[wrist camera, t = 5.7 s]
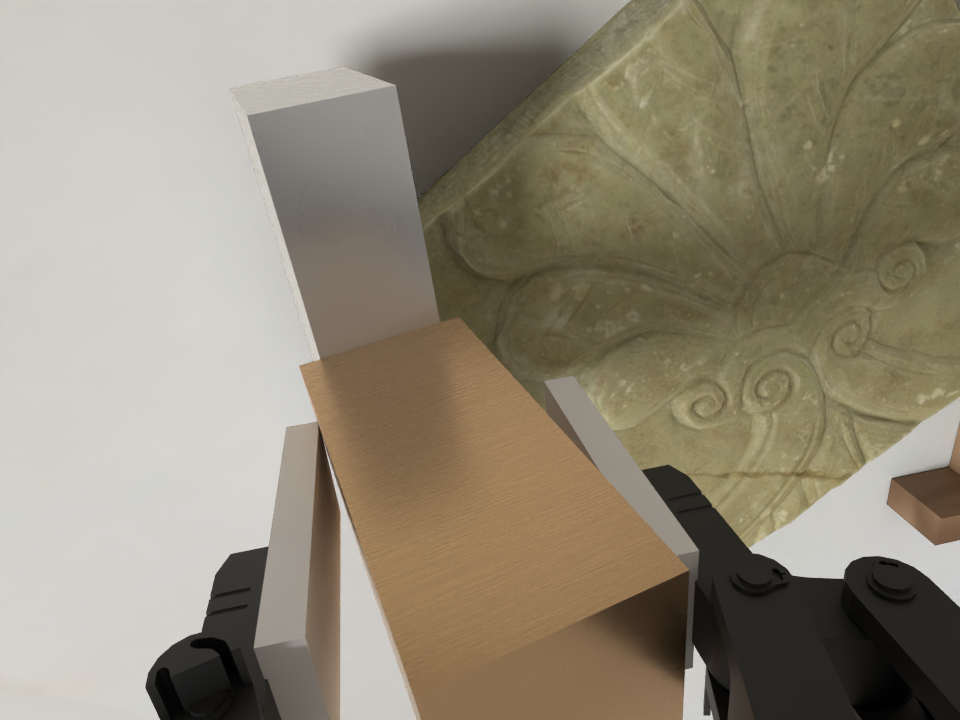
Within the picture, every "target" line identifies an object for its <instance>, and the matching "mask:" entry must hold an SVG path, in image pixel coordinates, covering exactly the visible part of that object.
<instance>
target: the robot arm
mask: <svg viewBox="0 0 960 720" xmlns="http://www.w3.org/2000/svg"><path fill="white" fill-rule="evenodd" d="M544 388H545V404H546V413H547V414H548V415H549V416H550V417H551V419H552V420H553V421H554V422H555V423H556V424H557V425H558V426H559V427H560V428H561V430H562V431H563V432H564V433H565V434H566V435H567V436H568V437H569V438H570V439H571V441H572V442H573V443H574V444H575V445H576V446H577V447H578V448H579V449H580V450H581V451H582V453H583V454H584V455H585V456H586V457H587V458H588V459H589V460H590V461H591V462H592V464H593V465H594V466H595V467H596V468H597V469H598V470H599V471H600V472H601V473H602V475H603V476H604V477H605V478H606V479H607V480H608V481H609V482H610V483H611V484H612V485H613V487H614V488H615V489H616V490H617V491H618V492H619V493H620V494H621V495H622V496H623V498H624V499H625V500H626V501H627V502H628V503H629V504H630V505H631V506H632V507H633V509H634V510H635V511H636V512H637V513H638V514H639V515H640V516H641V517H642V518H643V519H644V521H645V522H646V523H647V524H648V525H649V526H650V527H651V528H652V529H653V530H654V532H655V533H656V534H657V535H658V536H659V537H660V538H661V539H662V540H663V541H664V543H665V544H666V545H667V546H668V547H669V548H670V549H671V550H672V551H673V552H674V553H675V555H676V556H677V557H678V558H679V559H680V560H681V561H682V562H683V563H684V564H685V566H686V567H687V568H688V569H689V570H690V571H689V592H688V613H687V634H686V655H685V669H689V668H693V651H694V646H695V648H696V649H697V651H698V653H699V654H700V656H701V658H702V659H703V661H704V663H705V664H706V676H705V690H704V715H710V710H711V711H712V715H713V719H714V720H960V607H959V606H958V605H957V604H956V603H955V602H953V601H952V600H951V599H950V598H949V597H948V596H947V595H946V594H945V593H944V592H943V591H942V590H941V589H940V588H939V587H938V586H937V585H936V584H934V583H933V582H932V581H931V580H930V579H929V578H928V577H927V576H925V575H924V574H923V573H921V572H920V571H918V570H917V569H916V568H914V567H912V566H910V565H908V564H905V563H903V562H901V561H898V560H895V559H890V558H885V557H880V556H874V557H862V558H859V559H857V560H854V561H852V562H851V563H850V564H849V566H848V567H847V568H846V569H845V574H844V579H828V578H806V577H798V576H793V575H791V574H790V573H789V571H788V570H787V569H786V568H785V567H784V566H782V565H781V564H779V563H778V562H776V561H775V560H773V559H770V558H768V557H765V556H762V555H760V554H753V553H752V552H751V551H750V550H749V549H748V547H747V546H746V545H745V544H744V543H743V541H742V540H741V539H740V538H739V537H738V535H737V534H736V533H735V532H734V530H733V529H732V528H731V527H730V526H729V524H728V523H727V522H726V521H725V520H724V518H723V517H722V516H721V515H720V513H719V512H718V511H717V510H716V509H715V508H713V507H712V504H711V503H710V501H709V500H708V499H707V498H706V496H705V495H702V492H701V490H700V489H699V488H698V487H697V486H696V484H695V483H694V482H693V481H692V479H691V478H690V477H689V476H688V475H686V474H684V473H682V472H681V471H679V470H677V469H675V468H674V467H672V466H670V465H664V466H659V467H654V468H649V469H644V470H641V469H640V468H639V466H638V465H637V464H636V462H635V461H634V460H633V458H632V457H631V455H630V454H629V453H628V451H627V450H626V448H625V447H624V446H623V444H622V443H621V442H620V440H619V439H618V437H617V436H616V435H615V433H614V432H613V430H612V429H611V428H610V426H609V425H608V423H607V422H606V421H605V419H604V418H603V417H602V415H601V414H600V412H599V411H598V410H597V408H596V407H595V405H594V404H593V403H592V401H591V400H590V399H589V397H588V396H587V394H586V393H585V392H584V390H583V389H582V387H581V386H580V385H579V383H578V382H577V381H576V379H575V378H574V376H570V377H564V378H559V379H553V380H548V381H544ZM210 596H211V599H210V600H209V604H208V608H207V612H206V614H207V617H205V620H204V624H203V628H202V632H201V633H198V634H194V635H190V636H188V637H186V638H185V639H183V640H181V641H179V642H177V643H176V644H174V645H172V646H171V647H170V648H169V649H168V650H167V651H165V652H164V653H163V654H162V655H161V656H160V657H159V658H158V659H157V661H156V662H155V664H154V665H153V667H152V668H151V670H150V671H149V673H148V677H147V682H146V687H145V688H146V690H147V692H148V694H149V696H150V699H151V701H152V703H153V705H154V707H155V709H156V711H157V714H158V716H159V718H160V720H340V509H339V504H338V500H337V496H336V492H335V488H334V483H333V479H332V475H331V471H330V467H329V463H328V458H327V454H326V450H325V446H324V442H323V438H322V434H321V431H320V428H319V425H318V422H314V423H308V424H302V425H297V426H291V427H286V434H285V441H284V447H283V454H282V461H281V468H280V474H279V481H278V488H277V494H276V501H275V508H274V514H273V521H272V528H271V535H270V541H269V547H264V548H259V549H254V550H249V551H244V552H239V553H234V554H230V556H229V557H228V559H227V560H226V561H225V563H224V564H223V565H222V567H221V568H220V569H219V571H218V572H217V573H216V575H215V579H214V583H213V587H212V591H211V595H210Z"/></svg>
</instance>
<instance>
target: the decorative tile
mask: <svg viewBox="0 0 960 720" xmlns="http://www.w3.org/2000/svg"><path fill="white" fill-rule="evenodd" d="M417 202H418V207H419V212H420V218H421V223H422V229H423V234H424V239H425V245H426V250H427V256H428V261H429V266H430V272H431V277H432V283H433V288H434V293H435V299H436V304H437V310H438V315H439V320H440V322H443V321H447V320H450V319H453V318H456V317H459V318H460V319H461V320H462V321H463V322H464V323H465V324H466V325H467V326H468V328H469V329H470V330H471V331H472V332H473V333H474V334H475V335H476V336H477V337H478V339H479V340H480V341H481V342H482V343H483V344H484V345H485V346H486V347H487V348H488V349H489V351H490V352H491V353H492V354H493V355H494V356H495V357H496V358H497V359H498V360H499V362H500V363H501V364H502V365H503V366H504V367H505V368H506V369H507V370H508V371H509V373H510V374H511V375H512V376H513V377H514V378H515V379H516V380H517V381H518V382H519V383H520V385H521V386H522V387H523V388H524V389H525V390H526V391H527V392H528V393H529V394H530V396H531V397H532V398H533V399H534V400H535V401H536V402H537V403H538V404H539V405H540V407H541V408H542V409H543V410H544V411H545V412H546V404H545V388H544V381H548V380H553V379H559V378H564V377H570V376H574V378H575V379H576V381H577V382H578V383H579V385H580V386H581V387H582V389H583V390H584V392H585V393H586V394H587V396H588V397H589V399H590V400H591V401H592V403H593V404H594V405H595V407H596V408H597V410H598V411H599V412H600V414H601V415H602V417H603V418H604V419H605V421H606V422H607V423H608V425H609V426H610V428H611V429H612V430H613V432H614V433H615V435H616V436H617V437H618V439H619V440H620V442H621V443H622V444H623V446H624V447H625V448H626V450H627V451H628V453H629V454H630V455H631V457H632V458H633V460H634V461H635V462H636V464H637V465H638V466H639V468H640V469H641V470H644V469H649V468H654V467H659V466H664V465H670V466H672V467H674V468H675V469H677V470H679V471H681V472H682V473H684V474H686V475H688V476H689V477H690V478H691V479H692V481H693V482H694V483H695V484H696V486H697V487H698V488H699V489H700V490H701V492H702V495H705V496H706V498H707V499H708V500H709V501H710V503H711V504H712V507H713V508H715V509H716V510H717V511H718V512H719V513H720V515H721V516H722V517H723V518H724V520H725V521H726V522H727V523H728V524H729V526H730V527H731V528H732V529H733V530H734V532H735V533H736V534H737V535H738V537H739V538H740V539H741V540H742V541H743V543H744V544H745V545H746V546H747V547H748V548H749V547H751V546H752V545H754V544H755V543H757V542H758V541H760V540H762V539H763V538H765V537H766V536H768V535H770V534H771V533H773V532H774V531H776V530H778V529H780V528H782V527H783V526H785V525H787V524H789V523H790V522H792V521H793V520H794V519H796V518H797V517H798V516H799V515H801V514H802V513H803V512H804V511H805V510H807V509H808V508H809V507H810V506H811V505H813V504H814V503H815V502H816V501H818V500H819V499H820V498H821V497H823V496H824V495H825V494H826V493H827V492H829V491H830V490H831V489H833V488H835V487H837V486H840V485H841V484H843V483H844V482H845V481H846V480H847V479H848V478H849V477H850V476H852V475H853V474H855V473H856V472H857V471H859V470H860V469H861V468H862V467H863V466H864V465H865V464H866V463H868V462H870V461H872V460H873V459H875V458H877V457H878V456H880V455H881V454H882V453H884V452H885V451H886V450H888V449H889V448H890V447H892V446H893V445H894V444H896V443H897V442H898V441H900V440H901V439H902V438H904V437H905V436H906V435H908V434H909V433H910V432H911V431H912V430H913V429H914V428H915V427H916V426H917V425H918V424H920V423H921V422H922V421H923V420H925V419H927V418H929V417H931V416H932V415H934V414H935V413H937V412H938V411H939V410H941V409H942V408H944V407H945V406H947V405H948V404H950V403H951V402H953V401H954V400H956V399H957V398H958V397H960V12H959V10H958V7H957V4H956V1H955V0H631V1H630V2H629V3H628V4H627V5H626V6H625V7H623V8H622V9H621V10H620V11H619V12H618V13H617V14H616V15H615V16H614V17H612V18H611V19H610V20H609V21H608V22H607V23H606V24H605V25H604V26H603V27H602V28H601V29H600V30H599V31H597V32H596V33H595V34H594V35H593V36H592V37H591V38H590V39H589V40H588V41H587V42H586V43H585V44H584V45H583V46H582V47H581V48H580V49H579V50H578V51H576V52H575V53H574V54H573V55H572V56H571V57H570V58H569V59H568V60H567V61H566V62H565V63H564V64H563V65H561V66H560V67H559V68H558V69H557V70H556V71H555V72H554V73H553V74H552V75H551V76H550V77H549V78H547V79H546V80H545V81H544V82H543V83H542V84H541V85H540V86H539V87H538V88H537V89H536V90H535V91H533V92H532V93H531V94H530V95H529V96H528V97H527V98H526V99H525V100H524V101H523V102H521V103H520V104H519V105H518V106H517V107H516V108H515V109H514V110H513V111H512V112H510V113H509V114H508V115H507V116H506V117H505V118H504V119H503V120H502V121H501V122H499V123H498V124H497V125H496V126H495V127H494V128H493V129H492V130H491V131H490V132H489V133H488V134H486V135H485V136H484V137H483V138H482V139H481V140H480V141H479V142H478V143H477V144H476V145H475V146H474V147H473V148H472V149H471V150H470V151H469V152H468V153H467V154H466V155H465V156H463V157H462V158H461V159H460V160H459V161H458V162H457V163H456V164H455V165H454V166H453V167H452V168H451V169H450V170H449V171H448V172H447V173H446V174H444V175H443V176H442V177H441V178H440V179H439V180H438V181H437V182H436V183H435V184H434V185H433V186H432V187H431V188H430V189H429V190H428V191H426V192H425V193H424V194H423V195H422V196H421V197H420V198H419V199H418V200H417Z"/></svg>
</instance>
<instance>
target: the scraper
mask: <svg viewBox="0 0 960 720" xmlns="http://www.w3.org/2000/svg"><path fill="white" fill-rule="evenodd" d="M229 90H230V93H231V96H232V99H233V103H234V106H235V109H236V112H237V116H238V119H239V122H240V125H241V129H242V132H243V135H244V138H245V142H246V145H247V148H248V151H249V155H250V158H251V161H252V164H253V168H254V171H255V174H256V177H257V180H258V184H259V187H260V190H261V193H262V197H263V200H264V203H265V206H266V210H267V213H268V216H269V219H270V223H271V226H272V229H273V232H274V236H275V239H276V242H277V245H278V249H279V252H280V255H281V258H282V262H283V265H284V268H285V271H286V274H287V278H288V281H289V284H290V287H291V291H292V294H293V297H294V300H295V304H296V307H297V310H298V313H299V317H300V320H301V323H302V326H303V330H304V333H305V336H306V339H307V343H308V346H309V349H310V352H311V356H312V359H313V362H310V363H307V364H303V365H300V366H299V367H300V370H301V373H302V376H303V379H304V382H305V385H306V388H307V391H308V395H309V398H310V401H311V404H312V407H313V410H314V413H315V416H316V419H317V422H318V425H319V428H320V431H321V434H322V438H323V441H324V444H325V447H326V450H327V453H328V456H329V460H330V463H331V466H332V469H333V472H334V475H335V478H336V481H337V484H338V487H339V491H340V494H341V497H342V500H343V503H344V506H345V509H346V512H347V515H348V518H349V522H350V524H351V527H352V530H353V533H354V536H355V539H356V542H357V545H358V548H359V551H360V554H361V557H362V560H363V563H364V566H365V569H366V572H367V575H368V578H369V580H370V583H371V586H372V589H373V592H374V595H375V598H376V601H377V604H378V607H379V610H380V613H381V616H382V619H383V622H384V625H385V628H386V631H387V634H388V636H389V639H390V642H391V645H392V648H393V651H394V654H395V657H396V660H397V663H398V666H399V669H400V672H401V675H402V678H403V681H404V684H405V687H406V690H407V692H408V695H409V698H410V701H411V704H412V707H413V710H414V713H415V716H416V719H417V720H682V718H683V697H684V676H685V655H686V634H687V613H688V592H689V571H690V570H689V569H688V568H687V567H686V566H685V564H684V563H683V562H682V561H681V560H680V559H679V558H678V557H677V556H676V555H675V553H674V552H673V551H672V550H671V549H670V548H669V547H668V546H667V545H666V544H665V543H664V541H663V540H662V539H661V538H660V537H659V536H658V535H657V534H656V533H655V532H654V530H653V529H652V528H651V527H650V526H649V525H648V524H647V523H646V522H645V521H644V519H643V518H642V517H641V516H640V515H639V514H638V513H637V512H636V511H635V510H634V509H633V507H632V506H631V505H630V504H629V503H628V502H627V501H626V500H625V499H624V498H623V496H622V495H621V494H620V493H619V492H618V491H617V490H616V489H615V488H614V487H613V485H612V484H611V483H610V482H609V481H608V480H607V479H606V478H605V477H604V476H603V475H602V473H601V472H600V471H599V470H598V469H597V468H596V467H595V466H594V465H593V464H592V462H591V461H590V460H589V459H588V458H587V457H586V456H585V455H584V454H583V453H582V451H581V450H580V449H579V448H578V447H577V446H576V445H575V444H574V443H573V442H572V441H571V439H570V438H569V437H568V436H567V435H566V434H565V433H564V432H563V431H562V430H561V428H560V427H559V426H558V425H557V424H556V423H555V422H554V421H553V420H552V419H551V417H550V416H549V415H548V414H547V413H546V412H545V411H544V410H543V409H542V408H541V407H540V405H539V404H538V403H537V402H536V401H535V400H534V399H533V398H532V397H531V396H530V394H529V393H528V392H527V391H526V390H525V389H524V388H523V387H522V386H521V385H520V383H519V382H518V381H517V380H516V379H515V378H514V377H513V376H512V375H511V374H510V373H509V371H508V370H507V369H506V368H505V367H504V366H503V365H502V364H501V363H500V362H499V360H498V359H497V358H496V357H495V356H494V355H493V354H492V353H491V352H490V351H489V349H488V348H487V347H486V346H485V345H484V344H483V343H482V342H481V341H480V340H479V339H478V337H477V336H476V335H475V334H474V333H473V332H472V331H471V330H470V329H469V328H468V326H467V325H466V324H465V323H464V322H463V321H462V320H461V319H460V318H459V317H456V318H453V319H450V320H447V321H443V322H440V320H439V315H438V310H437V304H436V299H435V293H434V288H433V283H432V277H431V272H430V266H429V261H428V256H427V250H426V245H425V239H424V234H423V229H422V223H421V218H420V212H419V207H418V202H417V196H416V191H415V185H414V180H413V175H412V169H411V164H410V158H409V153H408V148H407V142H406V137H405V131H404V126H403V121H402V115H401V110H400V104H399V99H398V94H397V88H396V85H394V84H391V83H388V82H386V81H383V80H380V79H377V78H375V77H372V76H369V75H366V74H364V73H361V72H358V71H355V70H353V69H350V68H347V67H339V68H334V69H329V70H323V71H318V72H313V73H308V74H302V75H297V76H292V77H287V78H281V79H276V80H271V81H266V82H260V83H255V84H250V85H245V86H239V87H234V88H229Z"/></svg>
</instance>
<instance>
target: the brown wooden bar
mask: <svg viewBox="0 0 960 720" xmlns="http://www.w3.org/2000/svg"><path fill="white" fill-rule="evenodd" d="M887 505H888V506H890V507H891V508H892V509H893V510H894V511H895V512H897V513H898V514H899V515H900V516H901V517H902V518H904V519H905V520H906V521H907V522H908V523H909V524H911V525H912V526H913V527H914V528H915V529H917V530H918V531H919V532H920V533H921V534H922V535H924V536H925V537H926V538H927V539H928V540H929V541H931V542H932V543H933V544H934V545H939V544H944V543H948V542H953V541H957V540H960V424H959V428H958V432H957V436H956V440H955V444H954V449H953V453H952V457H951V461H950V465H949V467H947V468H942V469H937V470H932V471H928V472H923V473H918V474H913V475H908V476H903V477H899V478H894V479H892V480H891V485H890V490H889V495H888V500H887Z"/></svg>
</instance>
